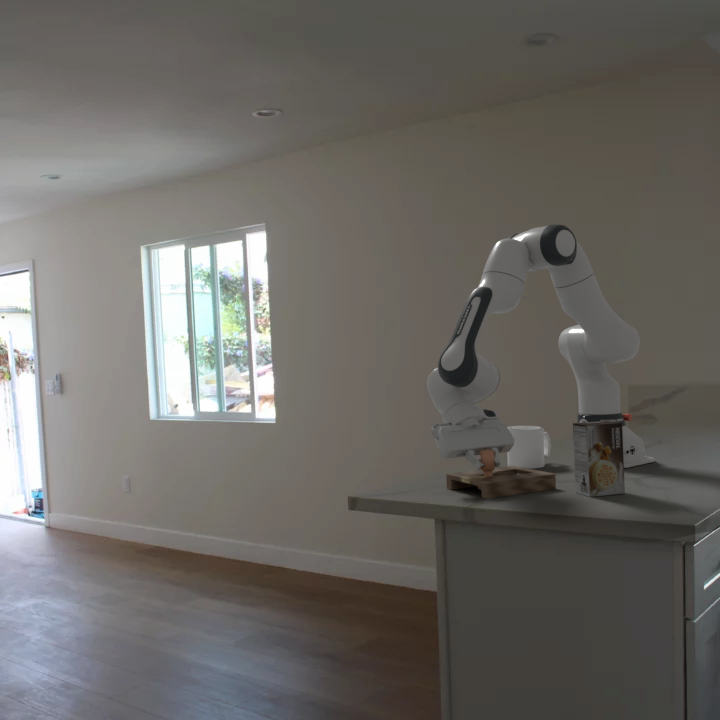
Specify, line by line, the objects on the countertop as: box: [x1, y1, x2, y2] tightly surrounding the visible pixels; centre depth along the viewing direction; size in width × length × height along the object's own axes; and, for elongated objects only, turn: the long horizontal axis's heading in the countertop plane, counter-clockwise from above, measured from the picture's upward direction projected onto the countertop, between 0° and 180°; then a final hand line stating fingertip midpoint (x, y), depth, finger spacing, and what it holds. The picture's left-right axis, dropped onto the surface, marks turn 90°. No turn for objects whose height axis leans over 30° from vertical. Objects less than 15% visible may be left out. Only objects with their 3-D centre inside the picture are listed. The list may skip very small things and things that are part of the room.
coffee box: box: [572, 421, 626, 498], centre depth 181 cm, size 9×6×16 cm
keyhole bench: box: [445, 465, 557, 500], centre depth 191 cm, size 20×16×4 cm
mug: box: [506, 425, 551, 469], centre depth 224 cm, size 14×10×11 cm
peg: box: [477, 450, 496, 491], centre depth 189 cm, size 5×5×9 cm
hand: (489, 466), depth 188 cm, fingers closed on peg, 3 cm apart
